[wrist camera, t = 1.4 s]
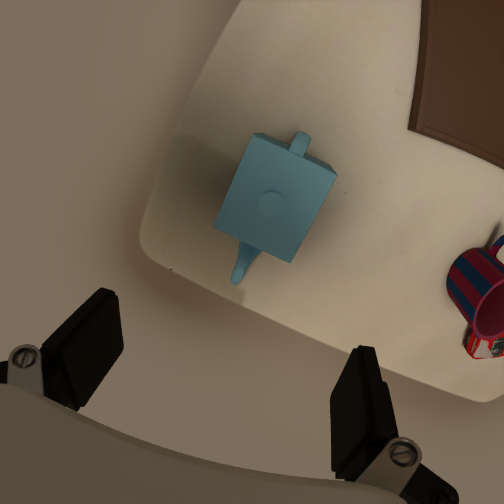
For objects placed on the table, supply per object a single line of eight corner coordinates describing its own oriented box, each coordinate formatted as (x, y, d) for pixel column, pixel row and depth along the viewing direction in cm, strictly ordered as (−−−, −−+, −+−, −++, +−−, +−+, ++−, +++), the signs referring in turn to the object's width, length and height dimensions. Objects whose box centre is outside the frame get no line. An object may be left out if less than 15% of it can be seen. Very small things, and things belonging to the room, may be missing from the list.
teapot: (276, 263, 29) (268, 307, 22) (218, 236, 29) (192, 272, 22) (336, 148, 24) (350, 156, 17) (270, 117, 24) (260, 112, 17)
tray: (407, 129, 22) (415, 129, 20) (420, -50, 14) (426, -58, 12) (533, 185, 21) (544, 189, 19) (543, 23, 12) (552, 20, 11)
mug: (435, 289, 28) (460, 327, 21) (485, 209, 23) (523, 232, 17) (470, 311, 28) (495, 347, 22) (517, 240, 24) (552, 266, 17)
